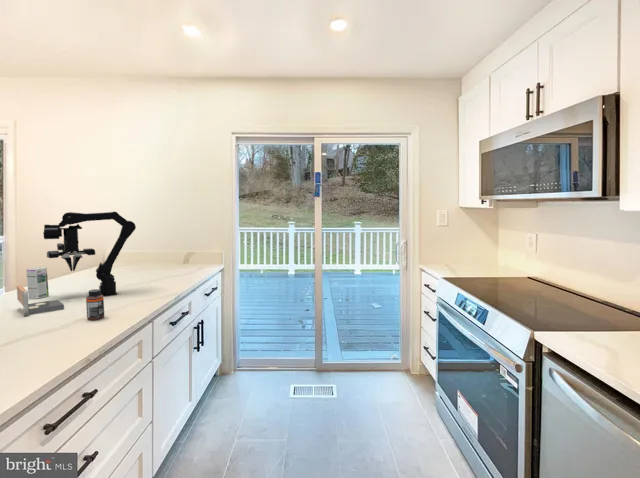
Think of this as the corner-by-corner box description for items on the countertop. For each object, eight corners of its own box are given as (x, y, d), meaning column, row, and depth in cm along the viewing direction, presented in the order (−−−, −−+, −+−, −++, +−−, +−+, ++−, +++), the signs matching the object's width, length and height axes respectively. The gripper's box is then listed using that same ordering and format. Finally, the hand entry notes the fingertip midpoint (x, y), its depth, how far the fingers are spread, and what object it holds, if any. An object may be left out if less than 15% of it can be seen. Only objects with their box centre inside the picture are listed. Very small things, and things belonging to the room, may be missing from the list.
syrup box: (38, 299, 176) (36, 268, 175) (27, 298, 178) (25, 268, 176) (49, 296, 182) (47, 266, 181) (39, 295, 183) (37, 266, 182)
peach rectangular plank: (22, 298, 161) (21, 285, 160) (27, 305, 151) (26, 290, 150) (17, 299, 160) (16, 285, 159) (23, 306, 150) (22, 291, 149)
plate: (58, 304, 168) (57, 282, 167) (65, 310, 158) (64, 287, 158) (19, 309, 158) (17, 286, 157) (24, 316, 149) (22, 292, 148)
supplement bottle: (91, 316, 151) (90, 288, 150) (107, 315, 151) (106, 288, 150) (83, 320, 145) (82, 292, 144) (99, 320, 145) (98, 291, 144)
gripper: (88, 236, 190) (89, 266, 191) (43, 238, 176) (45, 271, 178) (95, 238, 182) (96, 269, 183) (48, 240, 169) (50, 274, 170)
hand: (72, 270), depth 179 cm, fingers closed
